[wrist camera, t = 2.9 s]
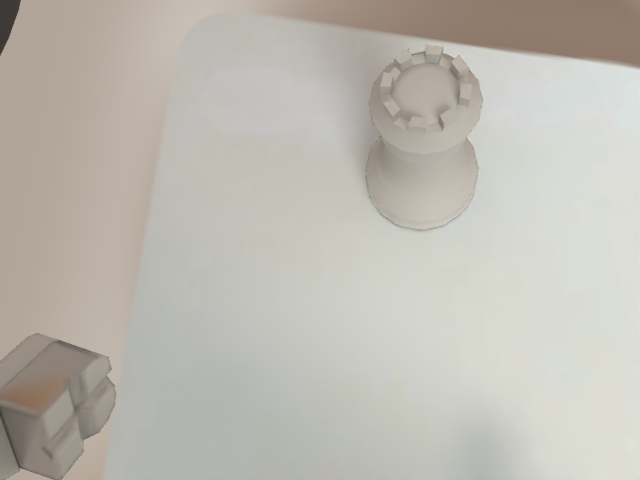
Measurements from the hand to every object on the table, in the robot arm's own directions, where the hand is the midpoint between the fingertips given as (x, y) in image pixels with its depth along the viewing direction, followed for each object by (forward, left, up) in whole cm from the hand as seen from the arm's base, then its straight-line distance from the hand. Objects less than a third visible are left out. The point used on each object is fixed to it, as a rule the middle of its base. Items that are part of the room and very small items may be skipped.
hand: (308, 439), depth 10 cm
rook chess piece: (0, +9, -12) cm, 15 cm away
